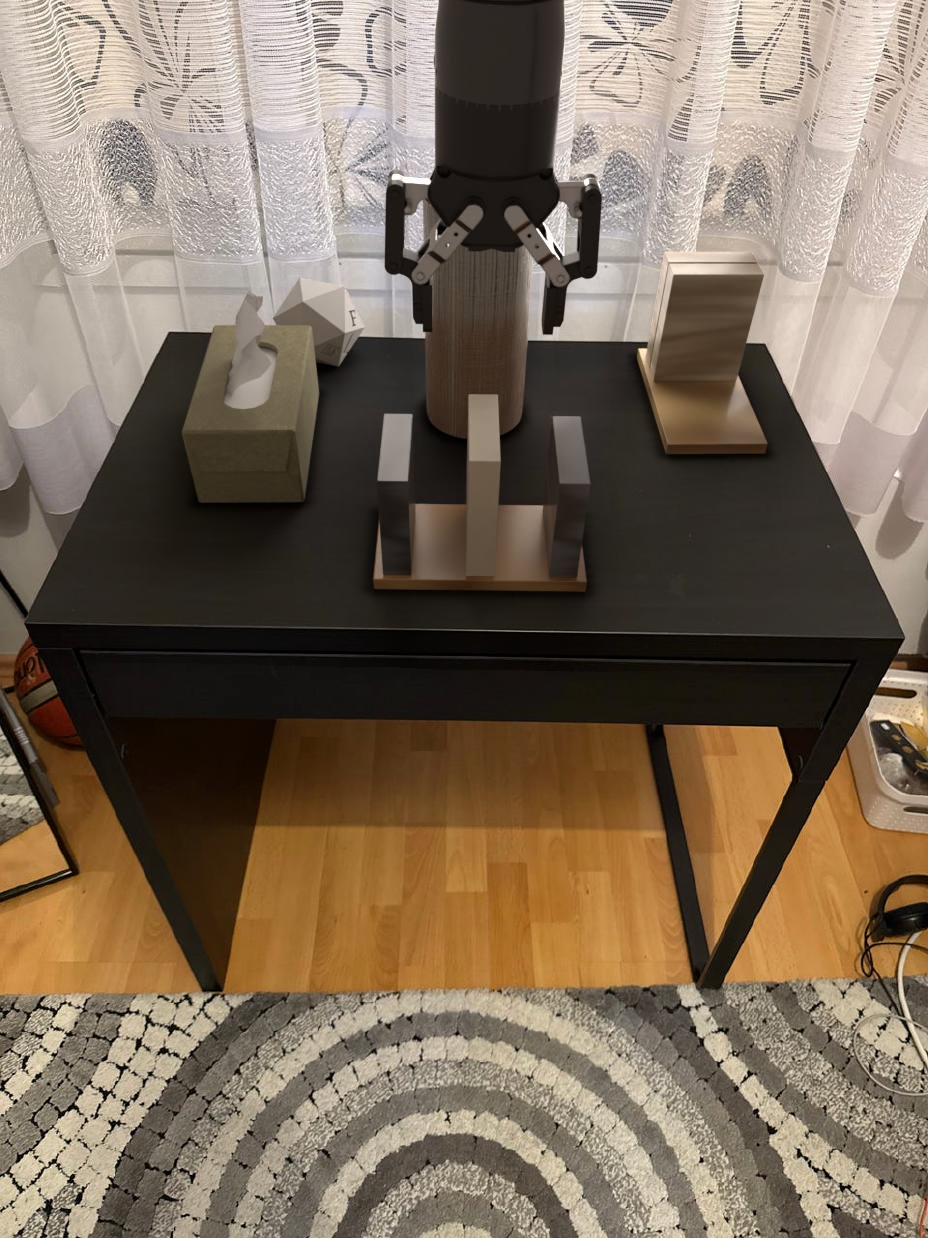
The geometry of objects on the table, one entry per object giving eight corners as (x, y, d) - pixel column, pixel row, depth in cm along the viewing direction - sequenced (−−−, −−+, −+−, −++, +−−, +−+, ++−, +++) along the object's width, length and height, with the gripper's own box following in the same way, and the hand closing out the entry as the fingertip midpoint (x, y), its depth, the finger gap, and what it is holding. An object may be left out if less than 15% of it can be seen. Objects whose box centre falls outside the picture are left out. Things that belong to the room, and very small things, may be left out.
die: (307, 392, 100) (359, 319, 95) (246, 334, 100) (294, 258, 95) (341, 378, 108) (390, 311, 103) (283, 324, 107) (330, 254, 102)
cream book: (492, 507, 85) (497, 394, 76) (494, 576, 78) (500, 461, 70) (465, 507, 85) (468, 393, 76) (465, 576, 78) (468, 461, 70)
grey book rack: (575, 515, 86) (589, 412, 78) (585, 592, 79) (601, 488, 71) (381, 513, 86) (374, 409, 78) (373, 589, 79) (365, 485, 71)
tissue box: (304, 505, 86) (282, 352, 75) (197, 506, 86) (160, 352, 74) (319, 392, 99) (303, 247, 88) (227, 392, 99) (199, 246, 87)
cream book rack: (764, 453, 93) (802, 333, 83) (665, 454, 93) (691, 333, 83) (724, 357, 105) (752, 243, 96) (636, 357, 105) (656, 243, 95)
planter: (537, 430, 95) (556, 206, 78) (444, 449, 93) (444, 221, 76) (501, 379, 101) (512, 162, 85) (414, 395, 99) (408, 175, 82)
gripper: (373, 96, 52) (385, 354, 64) (626, 101, 52) (591, 358, 64) (381, 54, 57) (391, 300, 69) (611, 59, 58) (582, 304, 69)
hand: (487, 328), depth 67 cm, fingers open, 8 cm apart
